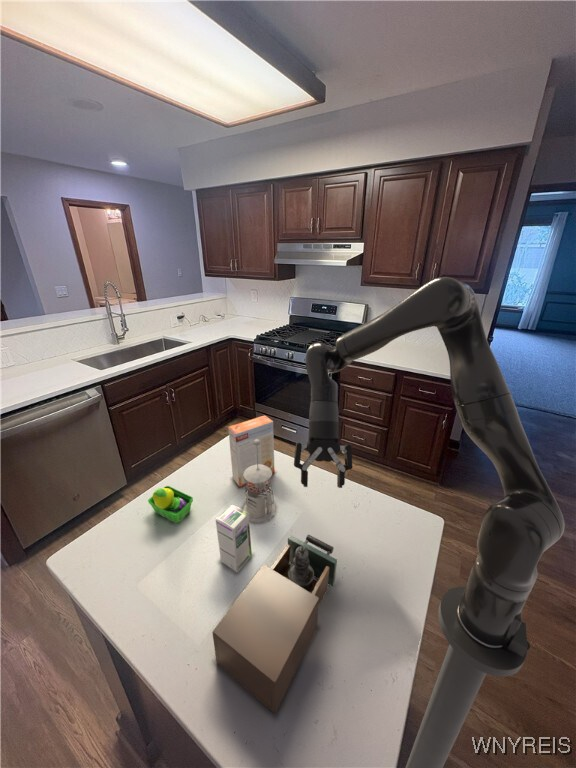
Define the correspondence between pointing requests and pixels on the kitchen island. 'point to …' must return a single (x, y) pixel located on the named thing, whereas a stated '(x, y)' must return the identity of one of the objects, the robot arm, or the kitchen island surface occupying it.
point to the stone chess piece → (301, 569)
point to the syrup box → (234, 537)
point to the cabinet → (266, 635)
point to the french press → (258, 492)
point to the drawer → (318, 561)
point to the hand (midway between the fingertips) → (322, 487)
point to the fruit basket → (171, 503)
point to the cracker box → (251, 446)
